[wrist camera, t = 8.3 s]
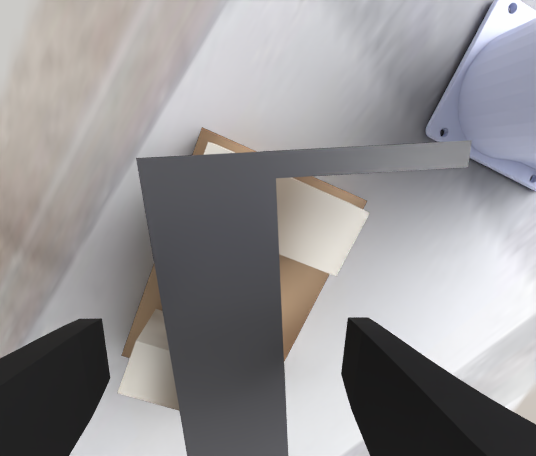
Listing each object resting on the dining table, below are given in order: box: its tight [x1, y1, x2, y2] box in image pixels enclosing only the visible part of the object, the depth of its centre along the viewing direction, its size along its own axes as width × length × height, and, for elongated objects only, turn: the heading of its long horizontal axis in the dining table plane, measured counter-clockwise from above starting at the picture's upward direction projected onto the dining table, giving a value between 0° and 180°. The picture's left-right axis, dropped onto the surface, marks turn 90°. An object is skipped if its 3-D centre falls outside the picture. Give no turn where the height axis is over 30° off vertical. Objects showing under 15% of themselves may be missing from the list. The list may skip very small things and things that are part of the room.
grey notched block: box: [136, 140, 472, 456], centre depth 12 cm, size 10×15×4 cm, turn 3°
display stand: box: [117, 128, 369, 411], centre depth 15 cm, size 10×15×7 cm, turn 157°
